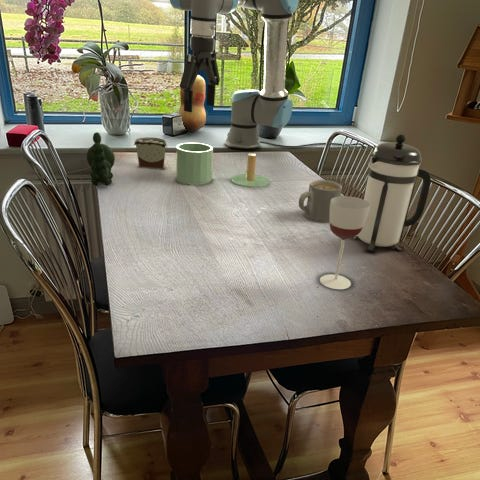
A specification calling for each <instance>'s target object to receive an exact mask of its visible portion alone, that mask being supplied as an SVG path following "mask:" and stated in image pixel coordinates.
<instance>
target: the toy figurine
mask: <svg viewBox="0 0 480 480" xmlns="http://www.w3.org/2000/svg"><path fill="white" fill-rule="evenodd" d="M92 142H93V144H92V146H90V147H89V148H88V150H87V152H86V162H87V164H88V166H89V167H90V171H91V172H90V174H89V175H90V177H91V180H90V182H91V184H92V185H93V186H99V184H104V185H105V186H110V185H111V184H112V183H113V179H112V178H113V177H114V174H113V172H112V168H113V167H114V164H115V162H116V157H115V156H116V155H115V153H114V151H113V149H111V147H109V146H108V145H106V144H105V143H101V142H102V136H101V134H100V132H97V131H96V132H94V133H93V135H92Z"/></svg>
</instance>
